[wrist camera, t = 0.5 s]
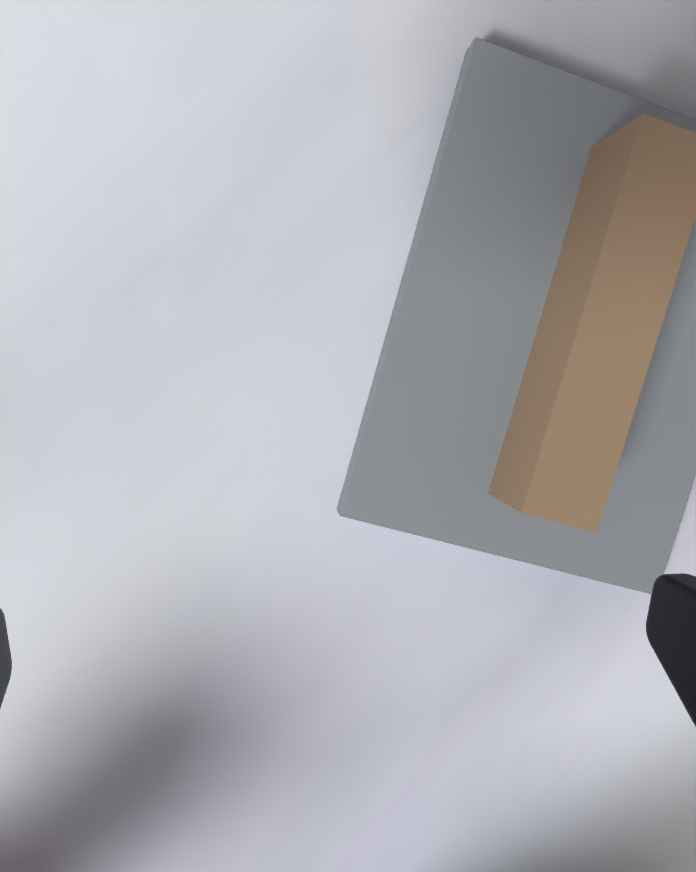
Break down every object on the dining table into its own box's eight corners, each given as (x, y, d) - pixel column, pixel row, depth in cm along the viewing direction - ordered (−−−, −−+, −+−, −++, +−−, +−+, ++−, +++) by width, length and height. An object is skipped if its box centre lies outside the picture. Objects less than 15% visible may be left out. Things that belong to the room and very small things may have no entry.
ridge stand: (641, 586, 25) (712, 628, 21) (336, 509, 23) (351, 539, 19) (775, 166, 24) (877, 126, 20) (466, 51, 22) (510, -18, 18)
